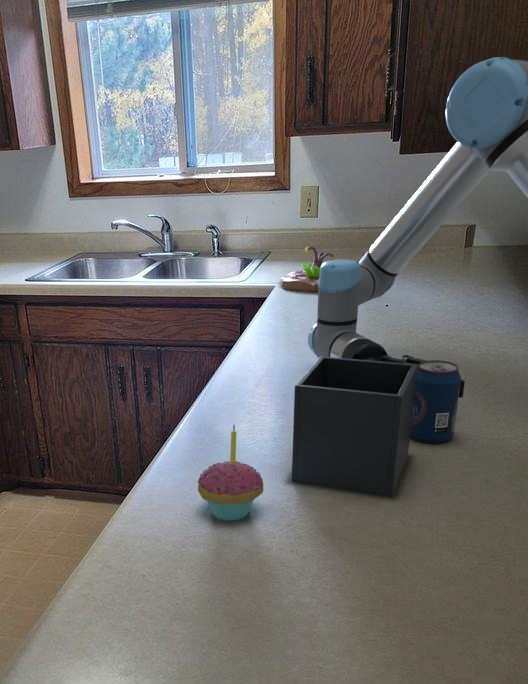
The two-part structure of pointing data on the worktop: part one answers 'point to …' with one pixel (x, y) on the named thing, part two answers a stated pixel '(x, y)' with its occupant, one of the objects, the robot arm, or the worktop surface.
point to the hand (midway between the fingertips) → (424, 395)
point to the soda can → (435, 401)
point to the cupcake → (230, 486)
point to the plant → (306, 274)
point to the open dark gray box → (353, 424)
